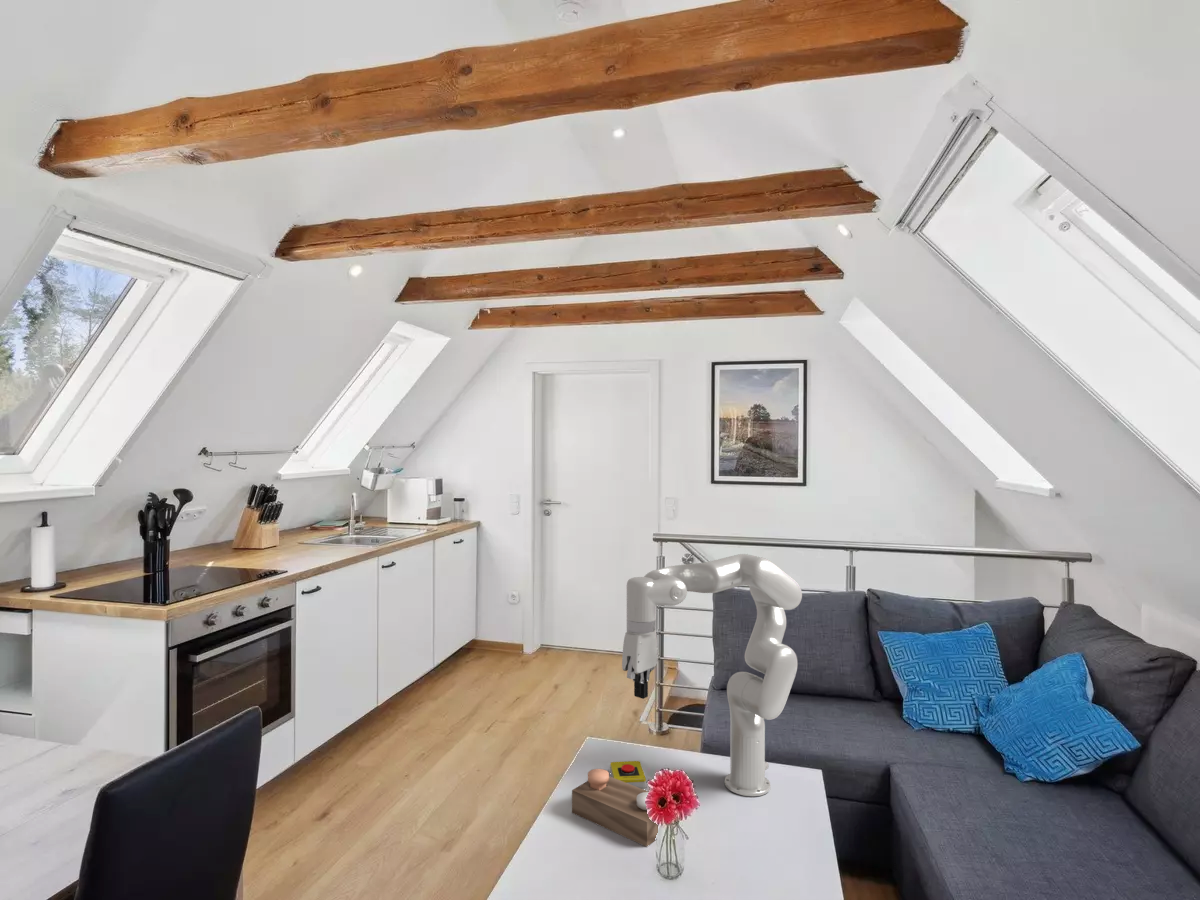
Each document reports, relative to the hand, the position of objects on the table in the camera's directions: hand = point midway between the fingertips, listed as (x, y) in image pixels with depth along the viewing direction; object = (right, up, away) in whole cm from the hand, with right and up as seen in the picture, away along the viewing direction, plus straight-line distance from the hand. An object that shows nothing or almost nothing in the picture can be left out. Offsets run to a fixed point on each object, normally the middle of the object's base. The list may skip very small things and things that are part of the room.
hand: (641, 696), depth 175 cm
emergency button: (-3, -32, +20) cm, 38 cm away
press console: (-5, -31, -1) cm, 31 cm away
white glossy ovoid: (+1, -31, -6) cm, 31 cm away
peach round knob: (-11, -29, +4) cm, 32 cm away
